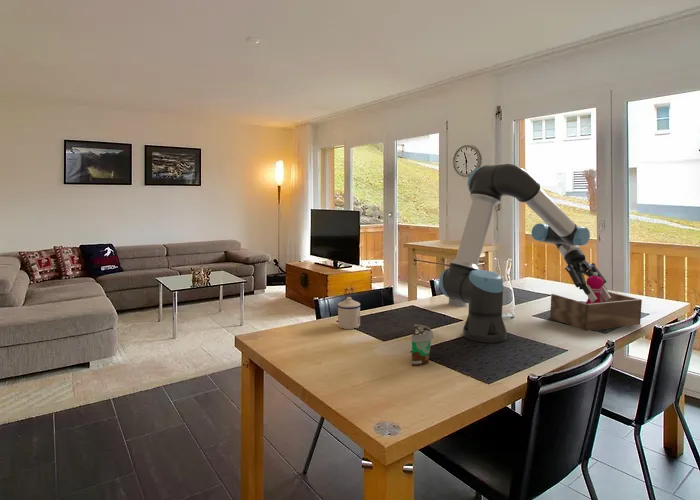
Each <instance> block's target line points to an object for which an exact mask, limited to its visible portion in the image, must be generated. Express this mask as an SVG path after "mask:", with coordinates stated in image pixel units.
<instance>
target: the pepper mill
mask: <svg viewBox="0 0 700 500" xmlns="http://www.w3.org/2000/svg"><path fill="white" fill-rule="evenodd" d="M603 284H604V282H603V279H602V278H601V277H599V276H598V273H597V272H594V273H593V276H590V277H587V279H586V286H587V285H589V286H590V288H591V289H592V291H593V293H594V294H595V296H596V297H597V300H595V301H594V302H593V303H601V301H600V292H602V291H601V290H602V289H601V287H602V286H603ZM604 285H605V284H604ZM587 297H588V296H587ZM585 303H586V304H592V302H591V301H590V299H589V297H588V298H587V300H586V302H585Z"/></svg>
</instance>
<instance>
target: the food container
mask: <svg viewBox="0 0 700 500" xmlns="http://www.w3.org/2000/svg"><path fill="white" fill-rule="evenodd" d="M433 338H434V334H433V331H432V328H430V326H428V325H424V324H423V325H422V324H417V323H416V324H413V333H412V334H411V367H421V366H422V367H423V366H425V365H427V364H429V362H430V355H431V343H432V339H433Z"/></svg>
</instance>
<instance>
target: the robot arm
mask: <svg viewBox="0 0 700 500" xmlns="http://www.w3.org/2000/svg"><path fill="white" fill-rule="evenodd" d="M469 174H470V175H469V176H468V178H467V187H468V191H469V192H470V194H469V197H470V199H471V205H470V208H469V212H468V215H467V219H466V222H465V226H464V228H463V233H462V235H461V239H460V242H459V247H458V249H457V253H456V257H455V259H454V260H452V261H450V263H449V265H448V267H447V268H445V269H444V271H442V272H441V274H440V275H439V280H438V285H439V288H440V290H441V293H442V294H443V295H444V296H445V297H447V298H448V299H449V298H451V299H453V300H458V301H461V302H464V303H466V304H467V305H468V314H467V317H466V321H465V323H464V326H463V329H462V336H463V337H464V338H465V339H468V340H470V341H474V342H478V343H490V344H491V343H492V344H495V343H501V342H504V341H505V340H507V339H508V338H507V335H508V334H507V333H508V332H507V329H506V325H505V322H504V320H503V319H504V318H503V304H504V303H503V302H504V301H503V299H504V279H503V277H502V276H501V274H499V273H497V272H494V271H491V270H484V269H480V267H479V261H480V258H481V255H482V251H483V248H484V244H485V241H486V237H487V235H488V230H489V226H490V223H491V219H492V217H493V213H494V210H495V207H496V206H497V205H499V204H500V203H501V200H502V197H503V196H509V197H513V198H515V199H516V200H517V201H518V202H521V203H524V204H526V205H527V207H528V208H530V209H531V210H532V211H533V212H534V213H535V214H536V215H537V216H538V217H539V218H540V219H541V220H542V222H543V223H541V222H539V223H536V224H535V225H534V226H533V227H531V228H532V229H531V233H530V234H531V237H532V239H533V240H535V241H538V242H540V243H541V242H542V243H546V244H547V243H548V244H552V245H555V246H556V248H557V250H558V251H559V253H560V254H561V256H562V257H563V259H564V261H565V263H566V265H567V266H565V268H564V269H565V270H566V272H567V273H568V274H569V276H570V278H571V281H572V282H573V284H574V286H575V288H578V289H579V290H582V291H583V293H584V294H585V295H587V297H589V299H590V301H591V302H592V303H593V302H594V301H595V300H597V297H596V296H595V294H594V293H593V291H592V289H591V288H590V286H589V285H587V280H586V278H585V276H587V278H589V277H590V276H593V273H594V272H597V273H598V276H599V277H601V278H602V279H603V282H604V284H603V286H602V287H601V289H602V290H601V291H602V292H600V294H601V295H602V297H603V298H604V300H605V301H608V300H609V299H610V298H611V296H610V295H609V293H608V292H609V291H608V288H606V286H605V284H606V283H607V280H606V278H605V277H604V276H603V275H602V273H601V272H600V270H599V269H598V268H597V266H596V264H595V263H594V262H592V263H589V262H588V261H587V260H586V256H585V254H584V252H583V251H582V250H581V247H580V246H585V245H587V244H588V242H589V240H590V239H591V233H590V230H589V229H588V227H586V226H580V225H579V226H578V225H577V224H575V223H576V222H574V221H573V220H572V219H571V218H570V217H569V215H567V214H566V213H565V211H563V210H562V208H561V207H559V205H558V204H557V203H556V202H555V201H554V200H553V199H552V198H551V197H550V196H549V195H548V194H547V193H546V192H545V190H543V189H542V184H541V182H539V181H538V179H536V177H535V176H533V175H532V174H531V173H530V172H528V171H527V170H525V169H524V168H522V167H521V166H518V165H515V164H514V163H513V164H512V163H504V164H494V165H493V164H491V165H490V164H486V165H483V166H479V167H476V168H475V169H473V170H472V171H471V173H469ZM584 275H585V276H584ZM607 291H608V292H607Z"/></svg>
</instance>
